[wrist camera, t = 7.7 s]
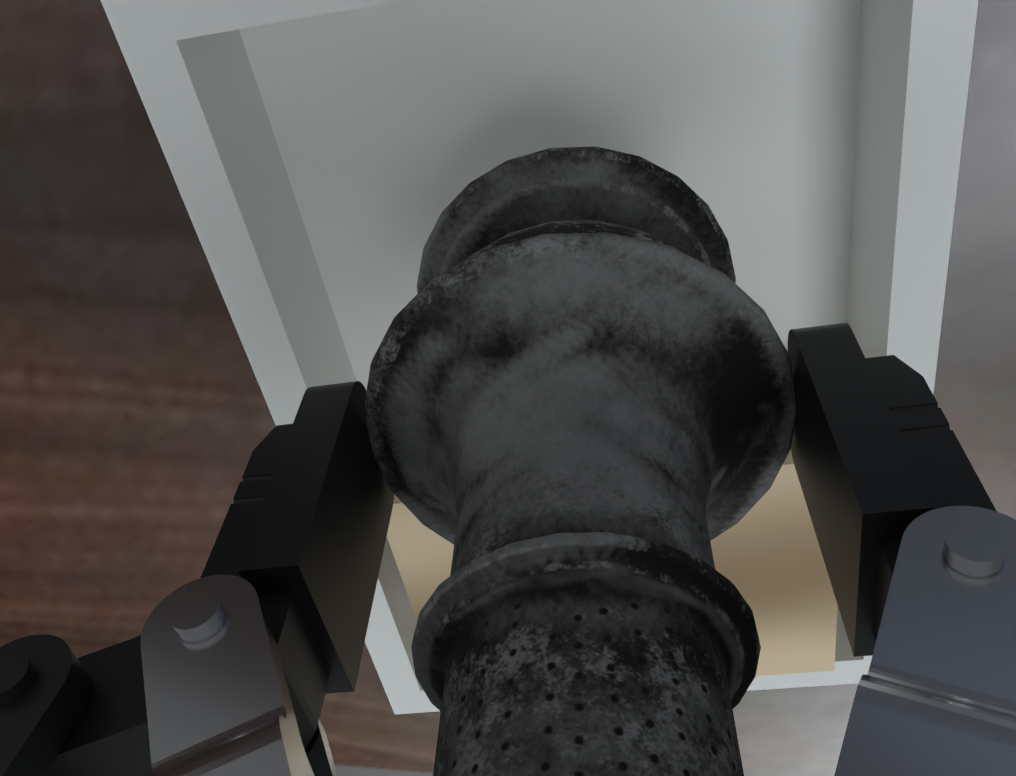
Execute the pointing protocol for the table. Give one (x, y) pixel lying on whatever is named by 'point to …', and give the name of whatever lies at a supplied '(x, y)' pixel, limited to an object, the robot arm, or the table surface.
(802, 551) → the oak block
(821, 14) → the tray
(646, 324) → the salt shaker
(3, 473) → the table surface
